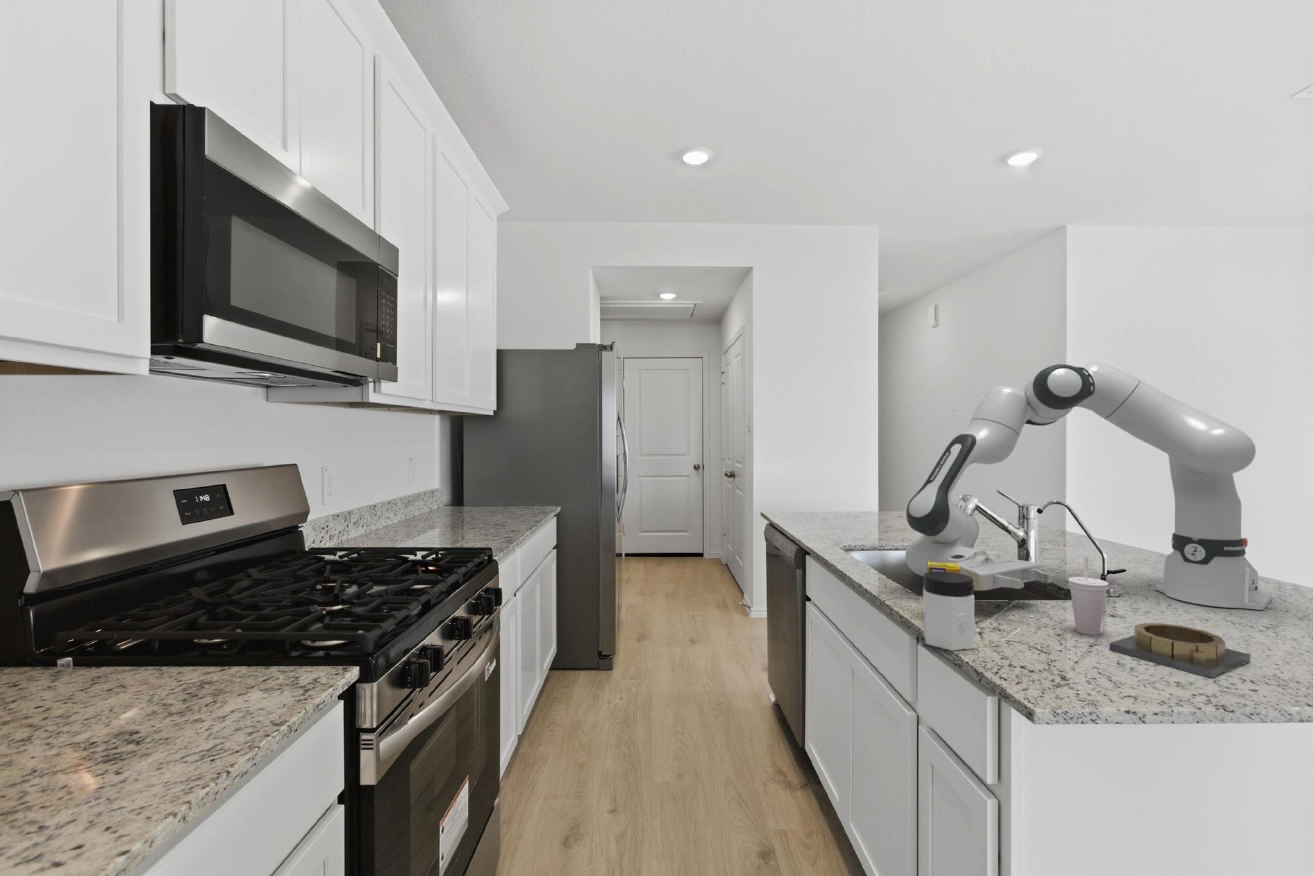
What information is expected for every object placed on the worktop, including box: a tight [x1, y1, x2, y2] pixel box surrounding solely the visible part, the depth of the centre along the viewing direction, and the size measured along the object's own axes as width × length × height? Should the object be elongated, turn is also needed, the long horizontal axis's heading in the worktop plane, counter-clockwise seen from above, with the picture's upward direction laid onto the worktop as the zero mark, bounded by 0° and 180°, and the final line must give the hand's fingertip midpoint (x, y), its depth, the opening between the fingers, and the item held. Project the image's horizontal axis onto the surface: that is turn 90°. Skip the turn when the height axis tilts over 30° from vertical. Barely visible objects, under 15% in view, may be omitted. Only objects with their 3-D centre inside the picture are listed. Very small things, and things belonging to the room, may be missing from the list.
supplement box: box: [927, 561, 960, 573], centre depth 126 cm, size 6×6×11 cm
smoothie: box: [1067, 556, 1110, 636], centre depth 117 cm, size 6×6×14 cm
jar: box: [922, 572, 976, 652], centre depth 111 cm, size 9×8×12 cm
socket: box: [1108, 622, 1251, 679], centre depth 105 cm, size 14×14×4 cm
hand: (1036, 581), depth 125 cm, fingers open, 8 cm apart
